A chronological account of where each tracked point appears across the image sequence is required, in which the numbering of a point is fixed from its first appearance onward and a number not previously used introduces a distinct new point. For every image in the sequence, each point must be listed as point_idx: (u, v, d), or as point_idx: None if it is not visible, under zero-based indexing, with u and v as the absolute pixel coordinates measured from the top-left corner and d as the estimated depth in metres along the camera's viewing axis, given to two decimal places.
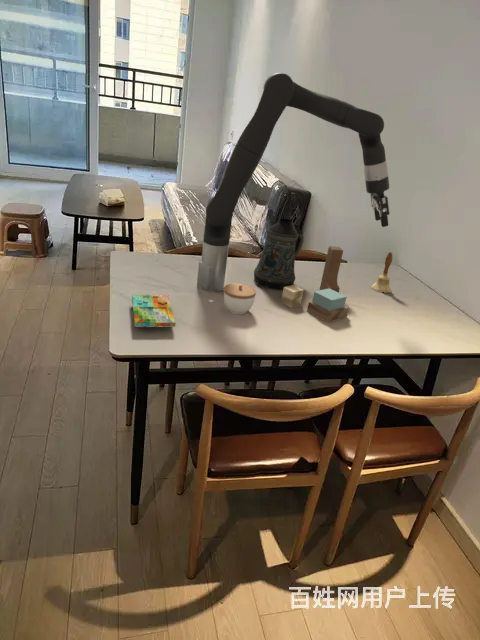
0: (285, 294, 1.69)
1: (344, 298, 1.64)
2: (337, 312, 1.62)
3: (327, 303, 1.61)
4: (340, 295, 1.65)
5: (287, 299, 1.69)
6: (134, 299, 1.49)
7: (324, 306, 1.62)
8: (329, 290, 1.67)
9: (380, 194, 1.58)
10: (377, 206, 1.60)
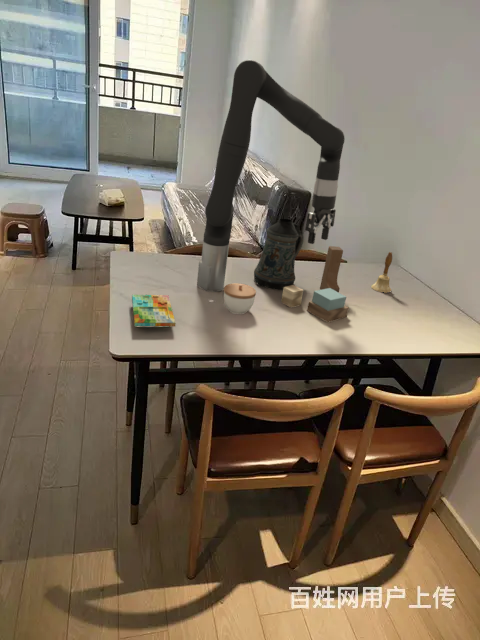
0: (285, 294, 1.69)
1: (344, 298, 1.64)
2: (337, 312, 1.62)
3: (326, 303, 1.61)
4: (340, 295, 1.64)
5: (287, 299, 1.69)
6: (134, 299, 1.49)
7: (323, 306, 1.62)
8: (329, 290, 1.67)
9: (315, 210, 1.55)
10: None
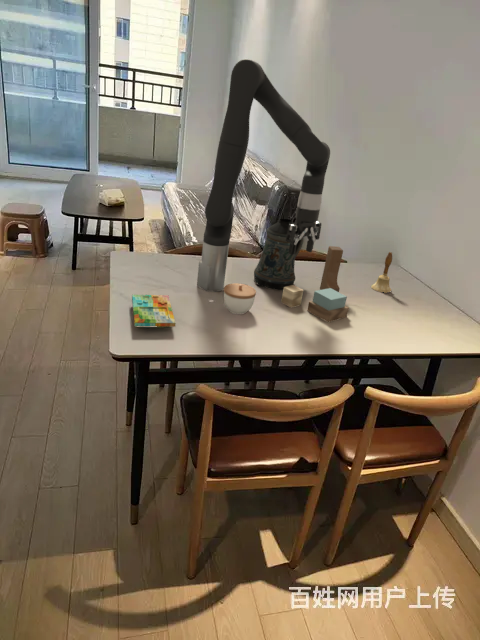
0: (285, 294, 1.69)
1: (344, 298, 1.64)
2: (337, 312, 1.63)
3: (326, 302, 1.61)
4: (340, 295, 1.65)
5: (287, 299, 1.69)
6: (134, 299, 1.49)
7: (324, 305, 1.63)
8: (330, 290, 1.68)
9: (297, 222, 1.56)
10: None
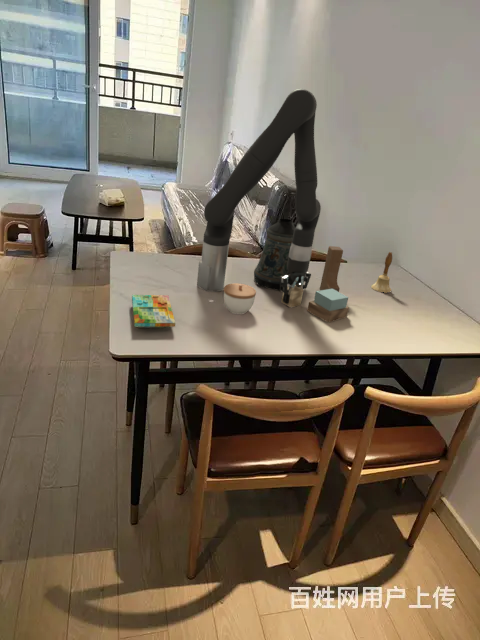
0: None
1: (346, 299, 1.63)
2: (337, 312, 1.62)
3: (327, 303, 1.61)
4: (342, 295, 1.64)
5: None
6: (134, 299, 1.49)
7: (325, 306, 1.63)
8: (332, 290, 1.67)
9: (289, 272, 1.64)
10: None
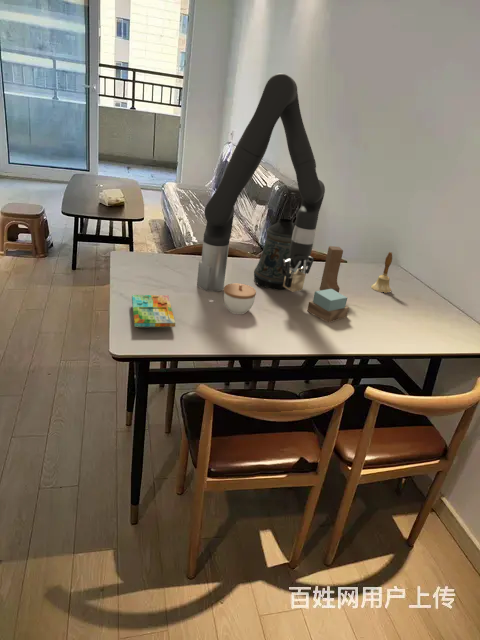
0: None
1: (344, 299, 1.63)
2: (337, 312, 1.62)
3: (326, 303, 1.61)
4: (341, 296, 1.64)
5: None
6: (134, 299, 1.49)
7: (324, 306, 1.62)
8: (331, 291, 1.67)
9: (291, 255, 1.61)
10: None
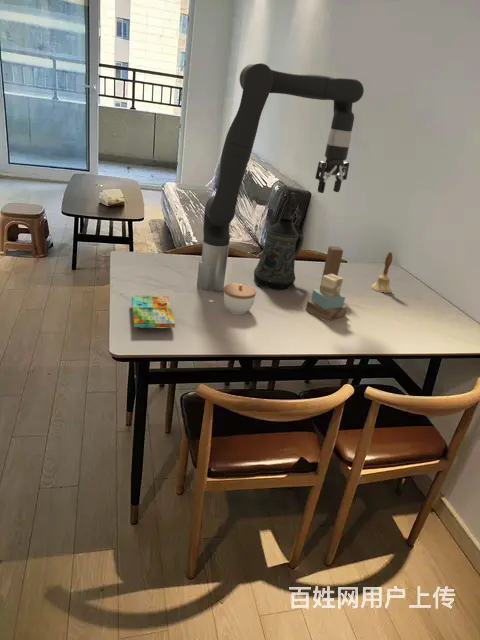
0: (324, 283, 1.63)
1: (342, 298, 1.64)
2: (336, 311, 1.63)
3: (323, 301, 1.62)
4: (339, 295, 1.65)
5: (326, 288, 1.62)
6: (134, 300, 1.49)
7: (320, 304, 1.63)
8: None
9: (327, 160, 1.62)
10: None
